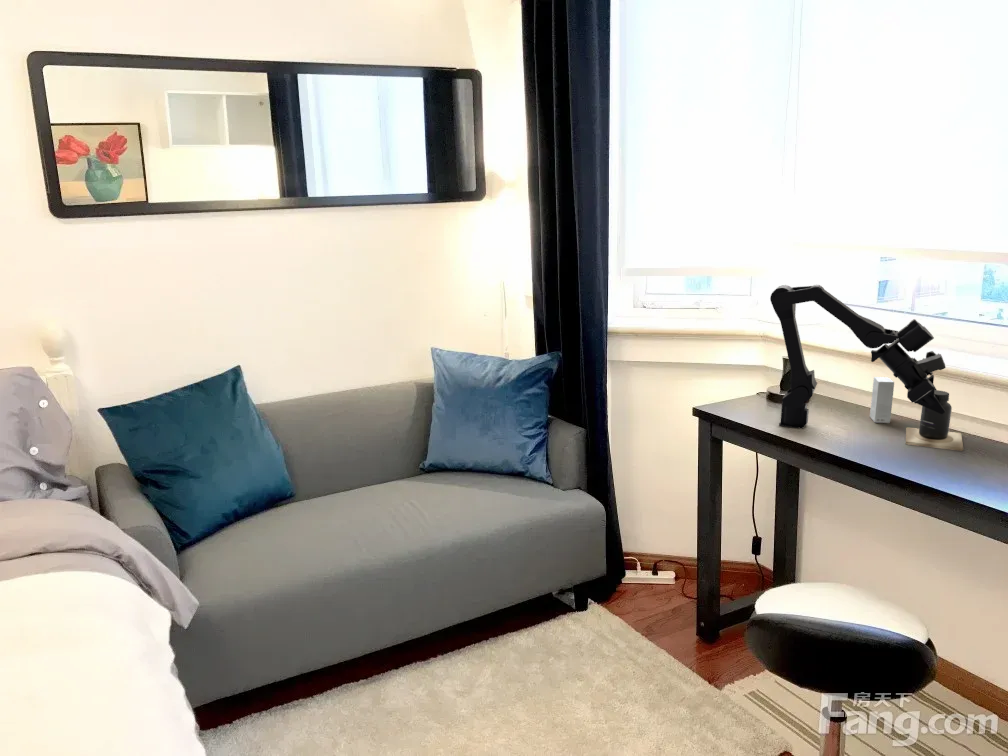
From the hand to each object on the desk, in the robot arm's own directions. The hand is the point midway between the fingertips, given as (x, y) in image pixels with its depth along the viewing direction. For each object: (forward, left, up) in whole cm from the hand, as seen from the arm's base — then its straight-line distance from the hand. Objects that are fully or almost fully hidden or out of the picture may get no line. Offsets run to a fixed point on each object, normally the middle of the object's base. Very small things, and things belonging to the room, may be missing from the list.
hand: (943, 408), depth 207 cm
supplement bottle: (-2, 0, -8) cm, 8 cm away
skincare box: (-15, +13, -9) cm, 22 cm away
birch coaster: (-1, 0, -9) cm, 9 cm away
